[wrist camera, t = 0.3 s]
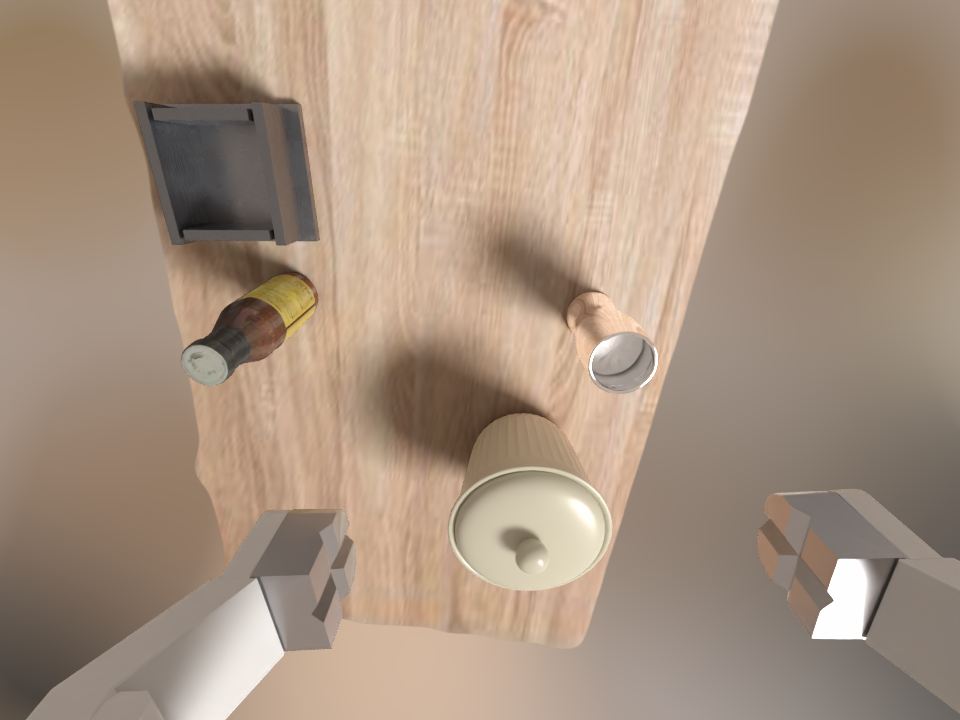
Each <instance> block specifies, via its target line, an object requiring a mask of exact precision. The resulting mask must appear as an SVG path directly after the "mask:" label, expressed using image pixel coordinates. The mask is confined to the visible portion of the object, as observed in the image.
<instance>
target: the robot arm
mask: <svg viewBox="0 0 960 720" xmlns="http://www.w3.org/2000/svg"><path fill="white" fill-rule="evenodd" d="M764 511H765V512H766V514H767V515H768V517H769V518H770V519H769V520H768V521H767V522H766V523H765V524H764V525H762V526H761V527H760V528H759V534H758V539H757V546H758V552H759V558H760V560H761V562H762V565H763V567H764V569H765V570H766V572H767V573H768V575H769V577H770V578H771V580H772V581H773V582H775V583H776V584H778V585H779V586H781V587H783V588H784V589H786V590H787V591H788V600H787V603H788V605H789V606H790V608H791V609H792V611H793V612H794V613H795V615H796V616H797V618H798V619H799V621H800V622H801V624H802V625H803V626H804V628H805V629H806V631H807V632H808V634H809V635H810V637H811V638H829V639H833V638H836V639H837V638H838V639H865V642H866V643H867V644H869V645H870V646H871V647H872V648H874V649H875V650H877V651H878V652H879V653H880V654H882V655H883V656H885V657H886V658H887V659H889V660H890V661H891V662H892V663H894V664H895V665H896V666H898V667H899V668H900V669H902V670H903V671H904V672H905V673H907V674H908V675H909V676H911V677H912V678H913V679H915V680H916V681H917V682H919V683H920V684H921V685H923V686H924V687H925V688H927V689H928V690H929V691H931V692H932V693H933V694H934V695H936V696H937V697H939V698H940V699H941V700H943V701H944V702H945V703H946V704H948V705H949V706H950V707H952V708H953V709H954V710H956V711H957V712H958V713H960V561H958V560H956V559H954V558H942V557H941V556H940V555H938V554H937V553H936V552H935V551H934V550H933V549H932V548H930V547H929V546H928V545H927V544H926V543H925V542H923V541H922V540H921V539H920V538H919V537H918V536H916V535H915V534H914V533H913V532H912V531H911V530H909V529H908V528H907V527H906V526H905V525H904V524H902V523H901V522H900V521H899V520H898V519H897V518H895V517H894V516H893V515H892V514H891V513H890V512H889V511H887V510H886V509H885V508H884V507H883V506H882V505H880V504H879V503H878V502H877V501H876V500H874V499H873V498H872V497H871V496H870V495H869V494H868V493H866V492H863V491H861V490H859V489H846V490H830V491H829V490H828V491H815V492H791V493H772V494H771V495H770V496H769V497H768V498H767V500H766V504H765V508H764ZM348 527H349V521H348V517H347V514H346V511H344V510H342V509H293V510H268V511H267V512H265V513H263V514H262V515H261V516H260V518H259V519H258V521H257V522H256V524H255V525H254V527H253V528H252V530H251V531H250V533H249V534H248V536H247V537H246V539H245V540H244V542H243V543H242V545H241V546H240V548H239V549H238V551H237V552H236V554H235V555H234V557H233V558H232V560H231V561H230V563H229V564H228V566H227V567H226V569H225V571H224V572H223V574H222V575H221V576H220V578H219V579H211V580H209V581H208V582H206V583H205V584H203V585H202V586H200V587H199V588H198V589H196V590H195V591H193V592H192V593H190V594H189V595H187V596H186V597H185V598H183V599H182V600H180V601H179V602H177V603H176V604H174V605H173V606H172V607H170V608H169V609H167V610H166V611H164V612H163V613H161V614H160V615H158V616H157V617H155V618H154V619H153V620H152V621H150V622H148V623H147V624H146V625H144V626H142V627H141V628H140V629H138V630H137V631H136V632H134V633H133V634H131V635H130V636H128V637H127V638H125V639H124V640H122V641H121V642H119V643H118V644H116V645H115V646H114V647H112V648H111V649H109V650H108V651H106V652H105V653H103V654H102V655H100V656H99V657H98V658H96V659H95V660H93V661H92V662H90V663H89V664H87V665H86V666H85V667H83V668H82V669H80V670H79V671H77V672H76V673H74V674H73V675H72V676H70V677H69V678H67V679H66V680H64V681H63V682H62V683H60V684H59V685H57V686H56V687H54V688H53V689H51V691H50V692H49V693H48V694H47V695H46V697H45V698H44V699H43V700H42V701H41V702H40V704H39V705H38V706H37V707H36V708H35V710H34V711H33V712H32V713H31V714H30V716H29V717H28V718H27V719H26V720H225V719H226V718H227V717H228V716H229V715H230V714H231V713H232V712H233V710H234V709H235V708H236V707H237V706H238V705H239V704H240V703H241V702H242V700H243V699H244V698H245V697H246V696H247V695H248V694H249V693H250V692H251V691H252V689H253V688H254V687H255V686H256V685H257V684H258V683H259V682H260V681H261V679H262V678H263V677H264V676H265V675H266V674H267V673H268V672H269V671H270V670H271V668H272V667H273V666H274V665H275V664H276V663H277V662H278V661H279V660H280V659H281V657H282V656H283V655H284V651H296V650H315V649H331V648H332V645H333V642H334V639H335V636H336V633H337V630H338V627H339V624H340V621H341V618H342V615H343V612H342V608H341V604H340V601H341V600H342V599H343V598H345V597H346V596H347V595H348V594H349V593H350V591H351V588H352V584H353V581H354V577H355V569H356V550H355V546H354V541H352V540H351V539H350V538H349V537H348V536H347V535H346V532H347V529H348Z"/></svg>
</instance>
